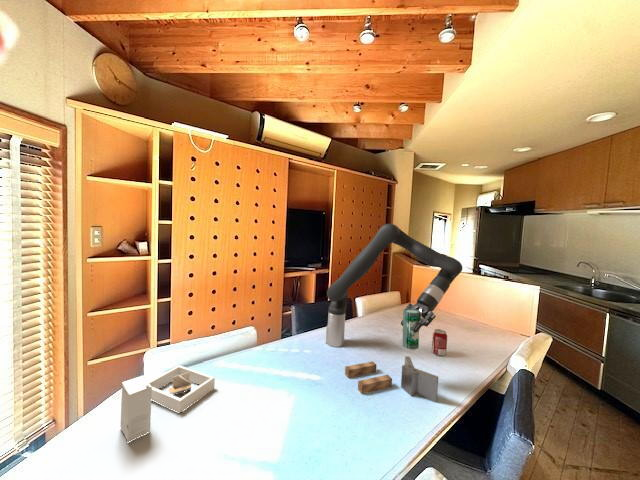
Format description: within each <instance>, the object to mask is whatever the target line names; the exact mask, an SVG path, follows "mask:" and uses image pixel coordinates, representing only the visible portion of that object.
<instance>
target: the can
mask: <svg viewBox="0 0 640 480" xmlns="http://www.w3.org/2000/svg"><path fill="white" fill-rule="evenodd" d="M402 314H403V315H402V320H403V326H402V344H401V345H402V347H403V348H405V349H407V350H418V349H419V347H420V346H419V345H420V344H419V342H420V336H419V335H420V330H419V331H418V332H416V333H415V332H413V331H412V328H413V327H414V326H415V324H416V323H418V319H419V315H420V312H419V310H416V309H410V308H409V309H408V308H407V309H406V308H404V309H403V312H402Z"/></svg>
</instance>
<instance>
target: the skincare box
mask: <svg viewBox="0 0 640 480" xmlns="http://www.w3.org/2000/svg"><path fill="white" fill-rule="evenodd" d="M148 382H149V380H148V379H146V378H145V375H140V376H138V377H133V378H131V379H128V380H125V381H122V382H121V384H122V385H121V405H120V407H121V408H120V409H121V410H120V427H121V429H122V430H121V429H120V430H121V432H122V431H123V432H124V434H125V436H124V438H125V437H126V438H125V440H126V439H127V441H126V443H127V442H129V441H131V440H133V439H135V438H137V437H139V436H141V435H144V434H146V433H147V432H150V433H151V419H152V418H151V414H152V402H151V397H152V386H151V385H150V384H149V383H148ZM120 427H119V428H120ZM123 432H122V433H123ZM124 434H123V435H124ZM146 435H147V434H146ZM144 436H145V435H144Z"/></svg>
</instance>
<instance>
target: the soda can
mask: <svg viewBox="0 0 640 480" xmlns="http://www.w3.org/2000/svg"><path fill="white" fill-rule="evenodd" d="M447 343H448V334H447V332H446V330H444V329H441V328H435V329H434V331H433V332H432V343H431V353H432V354H434V355H436V356H438V357H443V356H444V357H445V356H446V355H447V345H448V344H447Z"/></svg>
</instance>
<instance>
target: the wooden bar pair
mask: <svg viewBox="0 0 640 480" xmlns="http://www.w3.org/2000/svg"><path fill="white" fill-rule="evenodd" d="M344 367H345V368H344V375H345V376H346V378H347V379H350V378H355V377H361V376H364V375H371V374H375V373H377V364H376V362H374V361H373V360H372V361H367V362H362V363H357V364H352V365H346V366H344ZM388 388H393V378H392V377H391V376H390V375H389V374H384V375H380V376H379V375H378V376H375V377H369V378H365V379H360V380H358V381H357V390H358V392H359V393H360V395H363V394H364V395H365V394H368V393H372V392H377V391H380V390H385V389H388Z"/></svg>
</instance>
